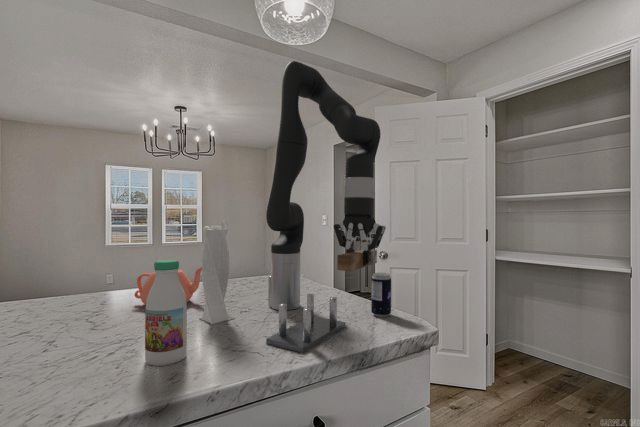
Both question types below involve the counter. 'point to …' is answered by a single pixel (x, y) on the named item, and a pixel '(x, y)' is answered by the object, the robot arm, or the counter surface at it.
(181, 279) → the teapot
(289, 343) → the peg rack
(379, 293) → the beverage can
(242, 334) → the counter surface
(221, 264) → the skyscraper
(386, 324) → the counter surface
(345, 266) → the brown wooden bar
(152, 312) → the milk bottle
